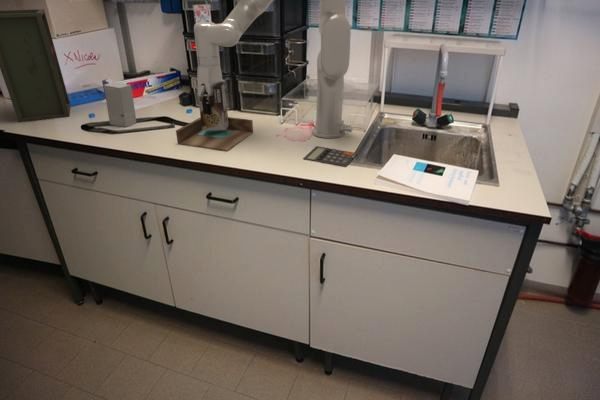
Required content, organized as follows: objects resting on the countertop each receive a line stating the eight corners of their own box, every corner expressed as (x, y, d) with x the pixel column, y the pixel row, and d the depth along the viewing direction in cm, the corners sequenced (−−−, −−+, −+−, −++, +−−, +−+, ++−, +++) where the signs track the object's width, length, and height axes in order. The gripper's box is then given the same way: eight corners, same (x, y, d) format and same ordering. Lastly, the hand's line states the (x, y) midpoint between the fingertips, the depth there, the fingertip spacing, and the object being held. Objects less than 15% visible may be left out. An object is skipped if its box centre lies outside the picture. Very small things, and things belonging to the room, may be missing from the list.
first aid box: (23, 110, 181) (-10, 10, 161) (70, 105, 188) (43, 9, 168) (18, 122, 166) (-19, 14, 147) (69, 116, 173) (40, 13, 154)
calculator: (346, 165, 129) (302, 157, 135) (346, 168, 130) (302, 160, 135) (357, 152, 139) (316, 145, 144) (357, 155, 139) (316, 148, 145)
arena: (253, 132, 157) (252, 120, 154) (227, 151, 140) (226, 137, 138) (207, 126, 163) (206, 114, 160) (177, 143, 146) (175, 130, 144)
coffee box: (229, 124, 156) (225, 81, 148) (226, 130, 150) (222, 86, 142) (205, 124, 156) (200, 81, 148) (201, 130, 151) (196, 85, 143)
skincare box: (109, 125, 164) (100, 85, 156) (122, 119, 170) (114, 81, 162) (126, 127, 161) (117, 87, 153) (139, 122, 167) (131, 83, 159)
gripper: (212, 55, 150) (217, 103, 158) (184, 65, 136) (191, 116, 144) (230, 57, 148) (234, 105, 156) (204, 66, 133) (210, 119, 142)
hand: (213, 110), depth 150 cm, fingers closed on coffee box, 7 cm apart
